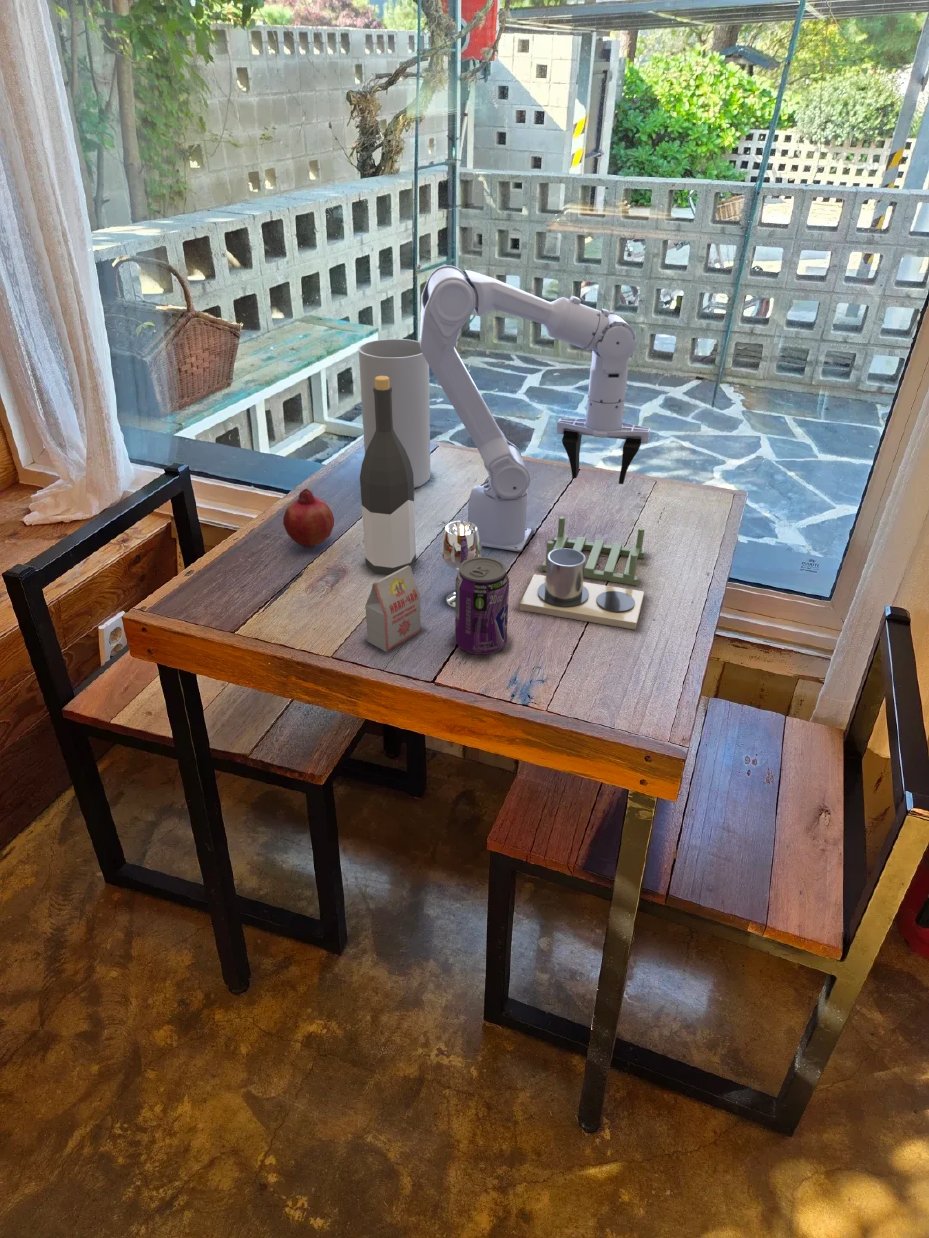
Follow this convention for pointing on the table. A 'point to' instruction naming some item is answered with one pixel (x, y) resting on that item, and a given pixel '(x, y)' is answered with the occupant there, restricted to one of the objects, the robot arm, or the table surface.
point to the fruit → (308, 520)
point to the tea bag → (393, 610)
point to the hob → (587, 604)
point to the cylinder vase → (399, 397)
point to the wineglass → (460, 546)
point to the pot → (565, 574)
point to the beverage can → (481, 605)
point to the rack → (595, 550)
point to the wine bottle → (387, 493)
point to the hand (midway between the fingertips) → (598, 478)
